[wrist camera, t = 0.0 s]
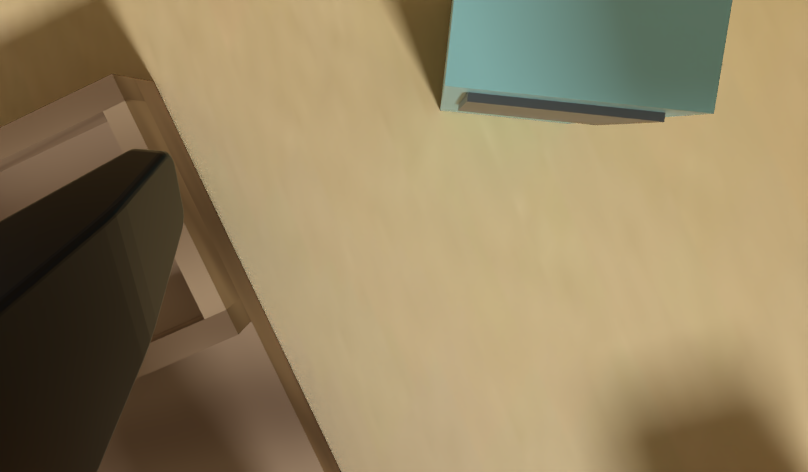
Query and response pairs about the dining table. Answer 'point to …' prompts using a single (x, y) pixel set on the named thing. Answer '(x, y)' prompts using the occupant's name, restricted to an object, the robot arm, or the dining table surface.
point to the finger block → (585, 59)
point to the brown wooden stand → (175, 303)
